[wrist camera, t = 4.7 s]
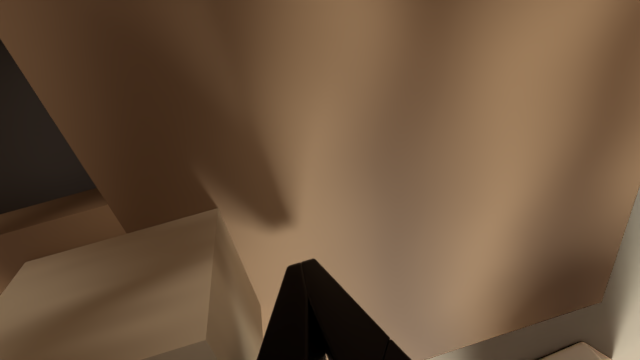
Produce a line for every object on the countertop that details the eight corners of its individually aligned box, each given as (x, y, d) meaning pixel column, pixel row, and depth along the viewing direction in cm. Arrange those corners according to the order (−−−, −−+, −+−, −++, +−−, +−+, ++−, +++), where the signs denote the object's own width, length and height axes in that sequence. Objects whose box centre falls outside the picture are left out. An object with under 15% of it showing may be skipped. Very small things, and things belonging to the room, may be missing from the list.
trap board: (689, -183, 8) (995, -293, 5) (573, 277, 17) (659, 353, 13) (-470, 86, 7) (-1187, 194, 3) (41, 448, 15) (-17, 585, 12)
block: (217, 207, 9) (205, 339, 6) (260, 305, 11) (270, 445, 8) (25, 262, 9) (-107, 435, 6) (105, 353, 11) (46, 519, 8)
